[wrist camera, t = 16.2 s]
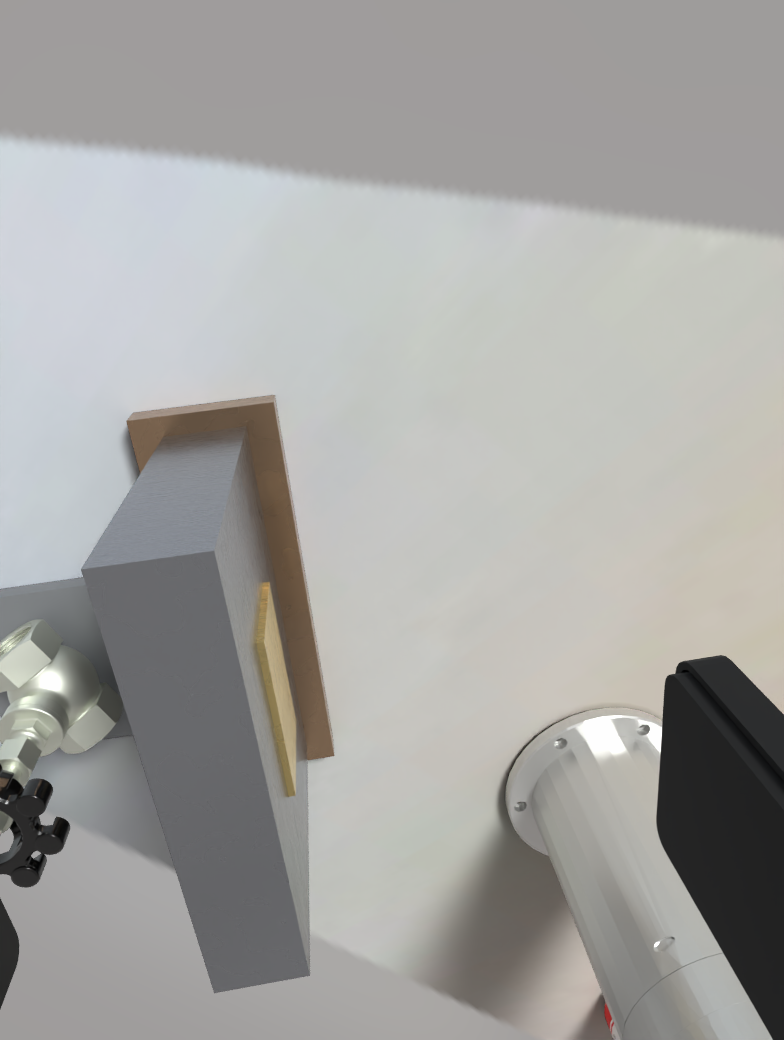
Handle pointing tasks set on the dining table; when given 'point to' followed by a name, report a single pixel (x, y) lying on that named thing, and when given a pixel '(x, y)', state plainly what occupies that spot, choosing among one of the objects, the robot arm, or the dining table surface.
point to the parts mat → (62, 628)
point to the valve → (43, 736)
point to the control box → (220, 674)
